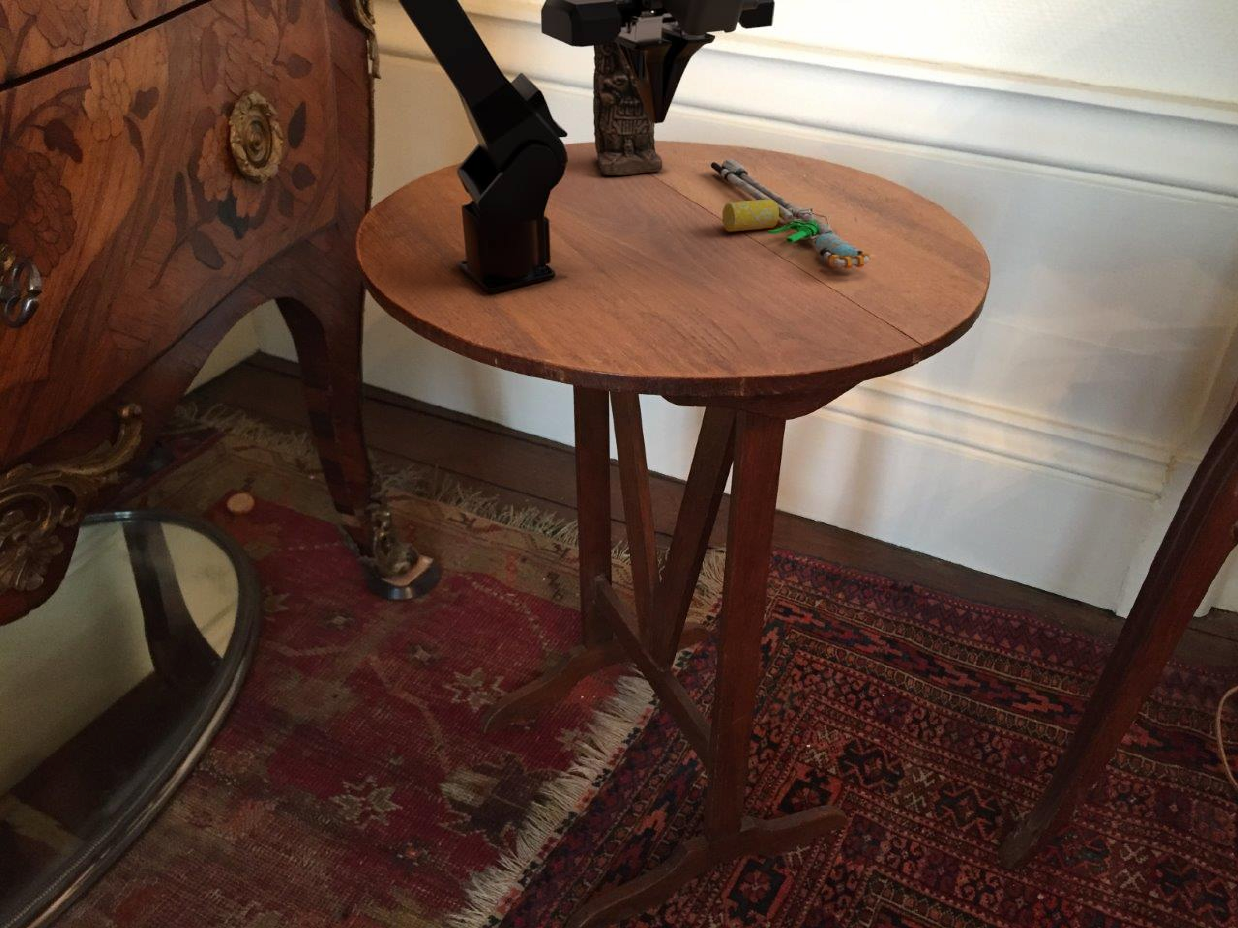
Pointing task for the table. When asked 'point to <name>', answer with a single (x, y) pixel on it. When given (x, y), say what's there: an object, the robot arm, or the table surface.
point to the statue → (620, 117)
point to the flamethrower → (768, 213)
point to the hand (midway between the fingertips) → (656, 122)
